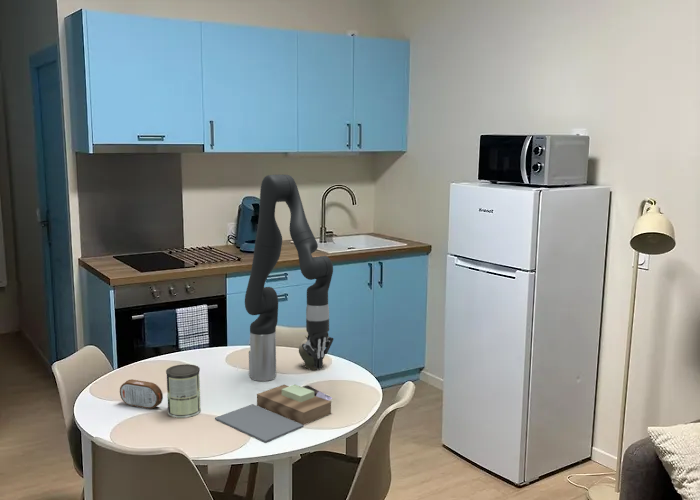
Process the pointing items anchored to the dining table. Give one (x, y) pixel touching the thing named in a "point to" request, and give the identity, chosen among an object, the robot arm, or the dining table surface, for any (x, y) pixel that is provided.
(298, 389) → the sponge
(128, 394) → the tin
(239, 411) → the mat
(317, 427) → the dining table surface
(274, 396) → the walnut stand
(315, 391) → the mobile phone
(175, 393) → the coffee can
